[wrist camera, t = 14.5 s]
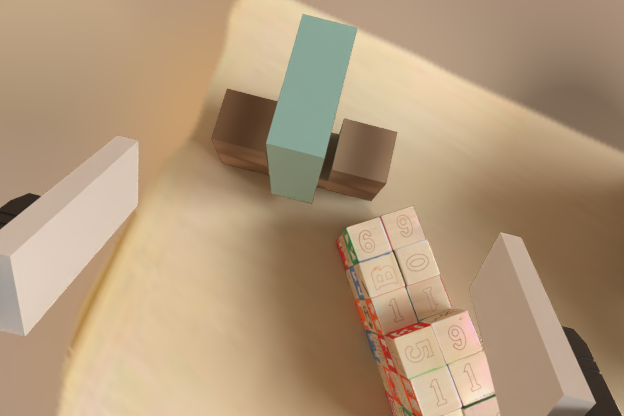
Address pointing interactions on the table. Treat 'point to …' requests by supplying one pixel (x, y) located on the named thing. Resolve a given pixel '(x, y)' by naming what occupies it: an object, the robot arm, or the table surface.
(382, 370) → the stack of blocks
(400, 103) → the table surface
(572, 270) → the table surface
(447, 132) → the table surface
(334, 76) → the rectangular block
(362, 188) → the staggered wooden block
